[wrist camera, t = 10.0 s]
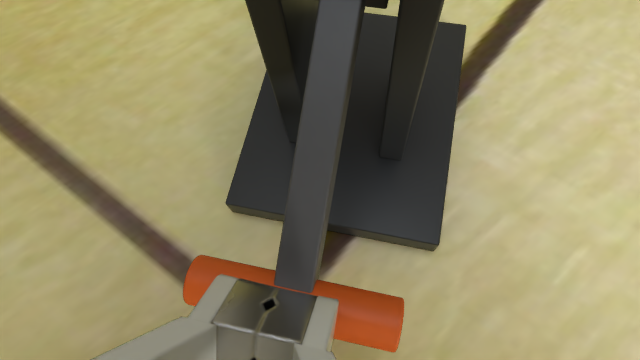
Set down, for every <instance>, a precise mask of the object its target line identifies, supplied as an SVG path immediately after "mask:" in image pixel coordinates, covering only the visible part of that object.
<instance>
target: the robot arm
mask: <svg viewBox="0 0 640 360" xmlns="http://www.w3.org/2000/svg"><path fill="white" fill-rule="evenodd" d="M338 306H339V301H338V299H333V298H328V297H323V296H315V295H311V294H306V293H301V292H296V291H292V290H287V289H282V288H278V287H274V286H270V285H266V284H262V283H258V282H254V281H249V280H245V279H241V278H240V279H239V278H236V277H232V276H227V275H223V274H220V275H218V276H217V277H216V278H215V279H214V280H213V282H212V283H211V285H210V286H209V288H208V289H207V290H206V292H205V293H204V295H203V296H202V298H201V299H200V300H199V302H198V303H197V305H196V306H195V308H194V309H193V310H192V312H191V313H190V315H189V316H188V317H187V318H186V317H179V318H177V319H175V320H173V321H171V322H169V323H167V324H165V325H162V326H160V327H158V328H156V329H154V330H152V331H150V332H148V333H146V334H143V335H141V336H139V337H137V338H135V339H133V340H131V341H129V342H126V343H124V344H122V345H120V346H118V347H116V348H114V349H112V350H110V351H107V352H105V353H103V354H101V355H99V356H97V357H95V358H93V359H91V360H336V358H335V356H334V354H333V352H331V348H332V343H333V337H334V331H335V324H336V318H337V312H338Z"/></svg>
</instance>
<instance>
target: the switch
mask: <svg viewBox="0 0 640 360" xmlns="http://www.w3.org/2000/svg"><path fill="white" fill-rule="evenodd" d="M316 1H319V5H318V12H317V18H316V24H315V30H314V36H313V43H312V49H311V55H310V61H309V67H308V74H307V80H306V86H305V92H304V98H303V105H302V111H301V117H300V123H299V129H298V136H297V142H296V148H295V154H294V160H293V167H292V173H291V179H290V185H289V192H288V198H287V204H286V210H285V216H284V223H283V229H282V235H281V241H280V247H279V254H278V260H277V266H276V271H275V270H270V269H265V268H261V267H256V266H251V265H247V264H242V263H237V262H233V261H228V260H223V259H219V258H214V257H209V256H205V255H199V256H197V257H196V258H195V259H194V261H193V262H192V264H191V265H190V267H189V269H188V272H187V275H186V278H185V282H184V287H183V298H184V301H185V303H187V304H188V305H193V306H196V305H197V303H198V302H199V300H200V299H201V298H202V296H203V295H204V293H205V292H206V290H207V289H208V288H209V286H210V285H211V283H212V282H213V280H214V279H215V278H216V277H217V276H218V275H220V274H223V275H227V276H232V277H236V278H239V279H240V278H241V279H245V280H249V281H254V282H258V283H262V284H266V285H270V286H274V287H278V288H282V289H287V290H292V291H296V292H301V293H306V294H311V295H315V296H323V297H328V298H333V299H338V301H339V306H338V312H337V318H336V324H335V331H334V337H333V338H334V339H338V340H342V341H346V342H351V343H355V344H359V345H364V346H368V347H372V348H376V349H381V350H385V351H389V352H396V350H397V348H398V344H399V340H400V335H401V330H402V323H403V315H404V299H403V298H400V297H395V296H391V295H386V294H381V293H377V292H372V291H367V290H363V289H358V288H354V287H349V286H344V285H340V284H335V283H330V282H326V281H321V280H318V279H319V273H320V267H321V261H322V255H323V250H324V244H325V238H326V232H327V226H328V220H329V214H330V209H331V203H332V197H333V191H334V185H335V179H336V173H337V168H338V162H339V156H340V150H341V144H342V138H343V133H344V127H345V121H346V115H347V109H348V103H349V97H350V92H351V86H352V80H353V74H354V68H355V62H356V56H357V51H358V45H359V39H360V33H361V27H362V21H363V15H364V10H365V6H366V7H375V8H383V9H386V8H387V4H388V0H316Z"/></svg>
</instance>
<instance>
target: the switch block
mask: <svg viewBox="0 0 640 360" xmlns="http://www.w3.org/2000/svg"><path fill="white" fill-rule="evenodd" d="M245 1H246V4H247V8H248V11H249V14H250V17H251V21H252V24H253V27H254V30H255V33H256V37H257V40H258V43H259V46H260V49H261V53H262V56H263V59H264V62H265V66H266V69H267V70H266V74H265V77H264V80H263V83H262V86H261V90H260V93H259V96H258V99H257V103H256V106H255V109H254V112H253V116H252V119H251V122H250V125H249V128H248V132H247V135H246V138H245V141H244V145H243V148H242V151H241V154H240V158H239V161H238V164H237V167H236V170H235V174H234V177H233V180H232V183H231V187H230V190H229V193H228V196H227V199H226V205H227V206H228V207H229V208H230V209H231V210H232V211H233V212H238V213H243V214H248V215H253V216H258V217H263V218H268V219H273V220H278V221H283V222H284V216H285V210H286V204H287V198H288V192H289V185H290V179H291V173H292V167H293V160H294V154H295V148H296V142H297V136H298V129H299V123H300V117H301V111H302V105H303V98H304V92H305V86H306V80H307V74H308V67H309V61H310V55H311V49H312V43H313V36H314V30H315V24H316V18H317V12H318V5H319V1H316V0H245ZM443 4H444V0H400V5H399V12H398V17H396V16H387V15H379V14H371V13H364V15H363V21H362V27H361V33H360V39H359V45H358V51H357V56H356V62H355V68H354V74H353V80H352V86H351V92H350V97H349V103H348V109H347V115H346V121H345V127H344V133H343V138H342V144H341V150H340V156H339V162H338V168H337V173H336V179H335V185H334V191H333V197H332V203H331V209H330V214H329V220H328V226H327V230H329V231H334V232H339V233H344V234H349V235H354V236H359V237H364V238H369V239H374V240H379V241H384V242H389V243H394V244H400V245H405V246H410V247H415V248H420V249H425V250H430V251H434V250H435V249H436V248H437V247H438V245H439V242H440V234H441V226H442V218H443V210H444V202H445V194H446V186H447V178H448V170H449V162H450V154H451V146H452V138H453V130H454V122H455V114H456V105H457V97H458V89H459V81H460V73H461V65H462V57H463V49H464V41H465V33H466V25H461V24H453V23H445V22H439V18H440V15H441V11H442V7H443Z"/></svg>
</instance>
